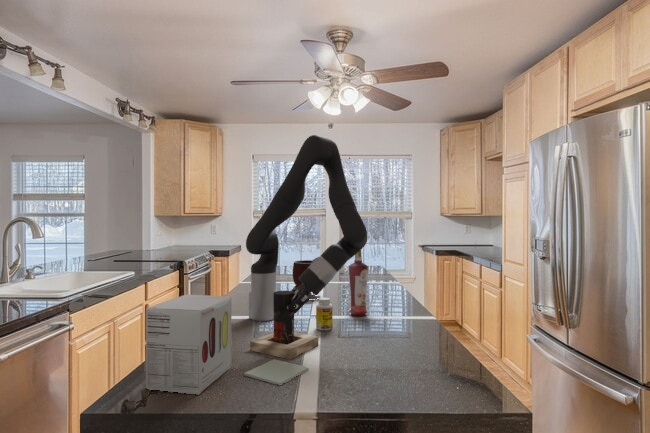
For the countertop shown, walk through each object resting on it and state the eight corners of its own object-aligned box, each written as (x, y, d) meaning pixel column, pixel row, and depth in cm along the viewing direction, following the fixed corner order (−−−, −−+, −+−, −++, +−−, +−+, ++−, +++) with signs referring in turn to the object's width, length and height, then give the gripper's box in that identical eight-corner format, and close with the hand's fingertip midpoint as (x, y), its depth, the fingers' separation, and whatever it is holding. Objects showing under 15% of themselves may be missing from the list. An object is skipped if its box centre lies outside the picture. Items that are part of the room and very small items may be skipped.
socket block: (250, 350, 114) (250, 341, 114) (281, 337, 126) (281, 329, 126) (289, 359, 107) (289, 349, 107) (318, 345, 119) (318, 336, 119)
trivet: (244, 375, 96) (244, 372, 96) (273, 361, 105) (273, 359, 105) (280, 385, 90) (280, 382, 90) (308, 369, 100) (308, 367, 100)
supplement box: (200, 396, 85) (200, 310, 85) (143, 391, 87) (144, 308, 87) (233, 366, 102) (233, 295, 102) (185, 363, 104) (185, 293, 104)
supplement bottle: (321, 331, 133) (321, 300, 133) (313, 328, 137) (313, 298, 137) (335, 329, 136) (335, 299, 136) (326, 325, 141) (326, 296, 141)
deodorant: (274, 341, 119) (273, 290, 119) (294, 340, 120) (294, 290, 120) (273, 347, 114) (273, 294, 114) (294, 347, 114) (294, 294, 114)
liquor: (358, 318, 150) (358, 243, 151) (344, 315, 156) (344, 242, 156) (371, 315, 155) (371, 242, 155) (358, 312, 161) (357, 241, 161)
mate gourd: (286, 297, 190) (286, 255, 190) (309, 294, 199) (308, 253, 199) (307, 303, 178) (307, 257, 178) (330, 298, 188) (330, 255, 188)
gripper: (304, 263, 125) (266, 303, 123) (314, 269, 111) (270, 315, 109) (321, 280, 127) (283, 320, 124) (332, 288, 113) (290, 333, 110)
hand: (278, 317), depth 116 cm, fingers closed on deodorant, 6 cm apart
